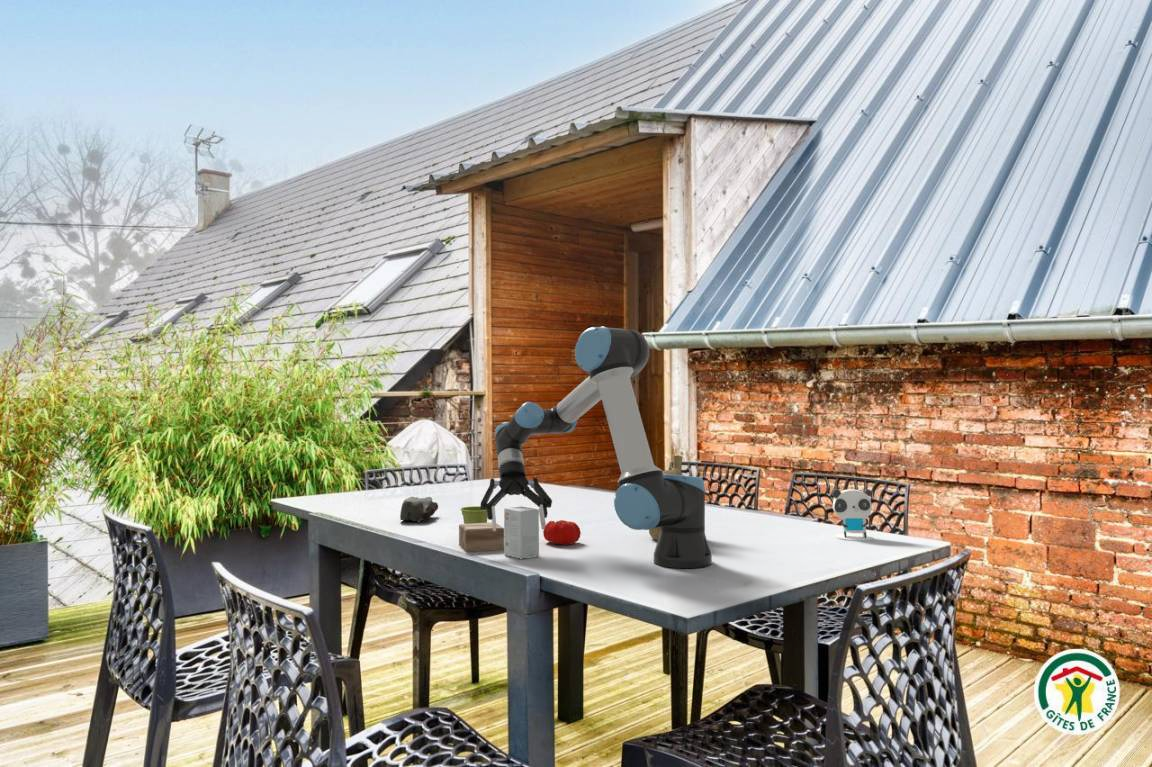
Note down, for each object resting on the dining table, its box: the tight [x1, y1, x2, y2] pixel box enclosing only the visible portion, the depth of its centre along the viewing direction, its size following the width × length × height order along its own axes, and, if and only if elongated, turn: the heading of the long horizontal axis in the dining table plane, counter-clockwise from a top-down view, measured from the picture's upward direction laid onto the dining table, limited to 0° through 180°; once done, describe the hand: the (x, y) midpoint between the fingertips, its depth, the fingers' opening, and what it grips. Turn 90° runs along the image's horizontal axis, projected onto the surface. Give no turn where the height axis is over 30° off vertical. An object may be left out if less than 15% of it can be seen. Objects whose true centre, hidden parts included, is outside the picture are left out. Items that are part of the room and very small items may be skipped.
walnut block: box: [458, 522, 504, 553], centre depth 237 cm, size 11×11×6 cm
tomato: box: [542, 519, 581, 546], centre depth 243 cm, size 10×11×7 cm
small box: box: [503, 506, 540, 560], centre depth 224 cm, size 8×6×13 cm
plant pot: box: [460, 505, 488, 524], centre depth 255 cm, size 9×9×9 cm
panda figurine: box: [830, 488, 874, 542], centre depth 252 cm, size 12×11×15 cm
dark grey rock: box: [399, 496, 439, 522], centre depth 288 cm, size 18×11×8 cm, turn 0°
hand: (519, 527), depth 225 cm, fingers open, 13 cm apart
